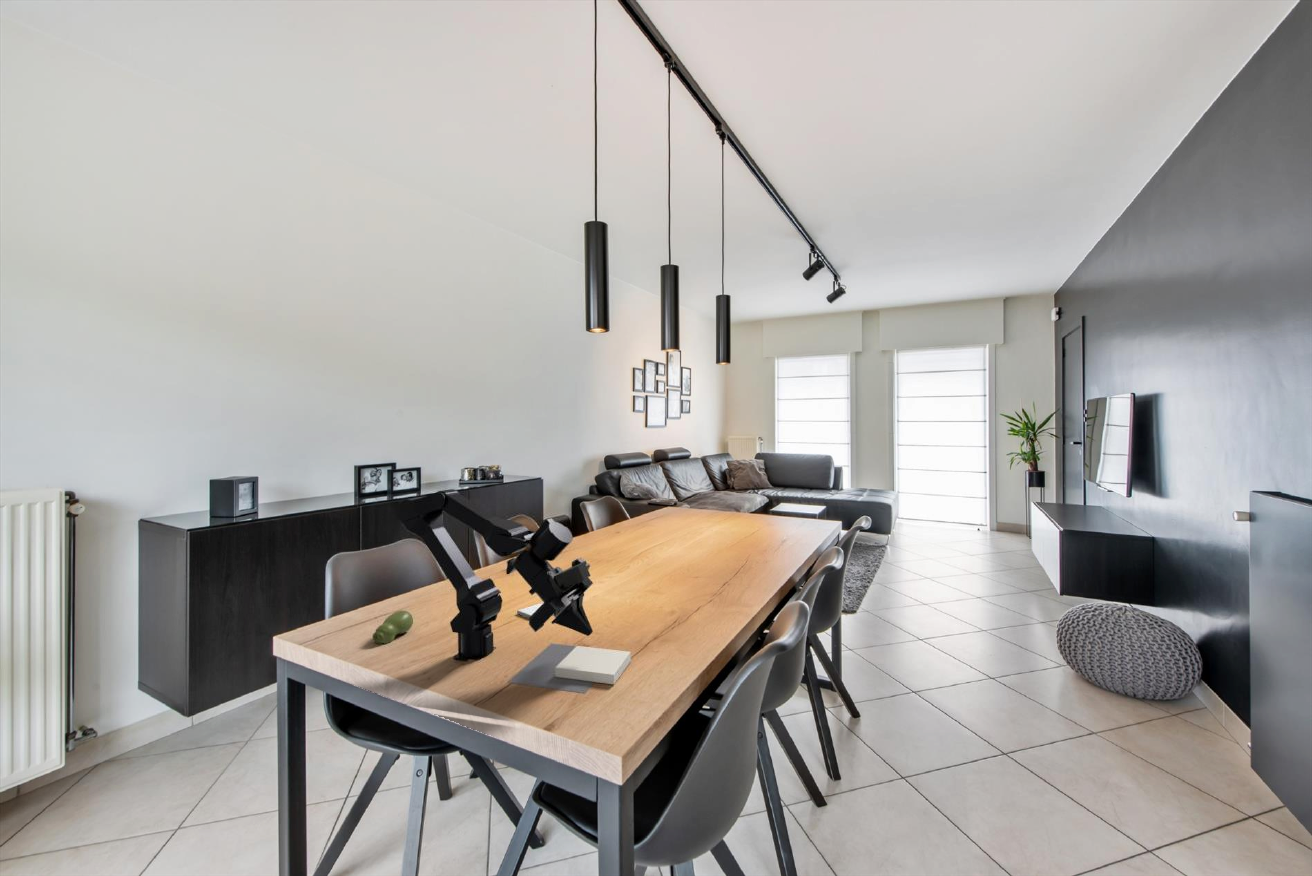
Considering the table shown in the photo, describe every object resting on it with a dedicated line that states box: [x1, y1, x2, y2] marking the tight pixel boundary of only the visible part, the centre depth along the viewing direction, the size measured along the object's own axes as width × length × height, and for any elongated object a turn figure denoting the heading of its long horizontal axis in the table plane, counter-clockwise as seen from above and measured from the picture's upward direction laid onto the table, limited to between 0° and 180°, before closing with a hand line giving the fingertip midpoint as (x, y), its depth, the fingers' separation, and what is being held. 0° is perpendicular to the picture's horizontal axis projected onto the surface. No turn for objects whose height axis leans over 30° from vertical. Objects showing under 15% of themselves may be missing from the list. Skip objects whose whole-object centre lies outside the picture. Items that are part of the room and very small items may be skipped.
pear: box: [371, 610, 414, 645], centre depth 118 cm, size 6×5×10 cm
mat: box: [506, 643, 595, 694], centre depth 100 cm, size 16×18×1 cm
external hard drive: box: [516, 601, 554, 620], centre depth 134 cm, size 2×8×12 cm
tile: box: [555, 645, 632, 685], centre depth 99 cm, size 2×10×12 cm
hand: (590, 633), depth 99 cm, fingers closed
